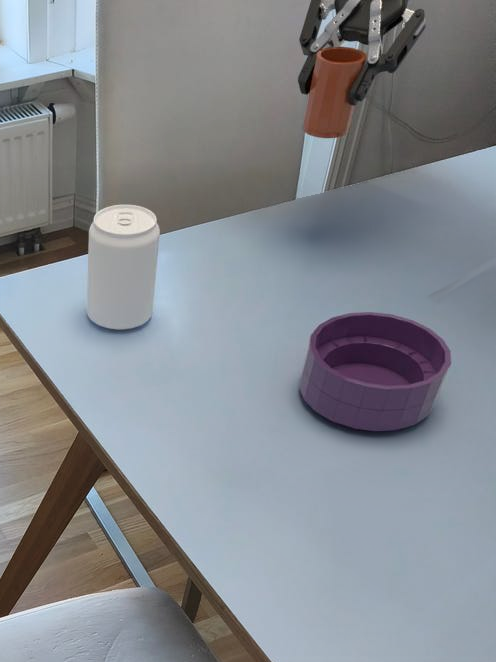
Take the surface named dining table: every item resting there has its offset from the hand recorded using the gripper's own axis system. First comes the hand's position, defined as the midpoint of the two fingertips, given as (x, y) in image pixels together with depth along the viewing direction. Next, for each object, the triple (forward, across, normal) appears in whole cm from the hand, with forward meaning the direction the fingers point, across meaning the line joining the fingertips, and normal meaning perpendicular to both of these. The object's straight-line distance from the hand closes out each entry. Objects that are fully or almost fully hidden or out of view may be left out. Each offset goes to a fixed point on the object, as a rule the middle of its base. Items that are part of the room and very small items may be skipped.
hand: (327, 95), depth 105 cm
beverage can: (+33, -9, -7) cm, 35 cm away
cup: (+2, 0, +4) cm, 5 cm away
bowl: (+31, +22, -6) cm, 39 cm away
